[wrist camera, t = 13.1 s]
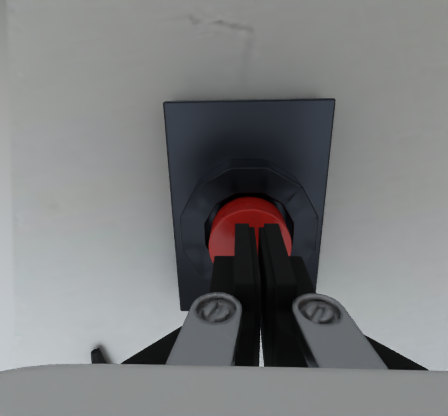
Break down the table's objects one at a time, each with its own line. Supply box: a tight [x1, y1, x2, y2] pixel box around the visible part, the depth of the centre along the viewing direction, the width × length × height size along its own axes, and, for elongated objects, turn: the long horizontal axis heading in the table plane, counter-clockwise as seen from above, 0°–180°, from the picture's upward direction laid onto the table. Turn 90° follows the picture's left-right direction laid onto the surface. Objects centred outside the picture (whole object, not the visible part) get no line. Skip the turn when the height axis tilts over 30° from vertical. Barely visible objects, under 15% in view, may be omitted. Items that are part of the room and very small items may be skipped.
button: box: [209, 197, 292, 263], centre depth 14 cm, size 4×4×2 cm
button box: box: [163, 98, 335, 311], centre depth 16 cm, size 12×8×4 cm, turn 1°
